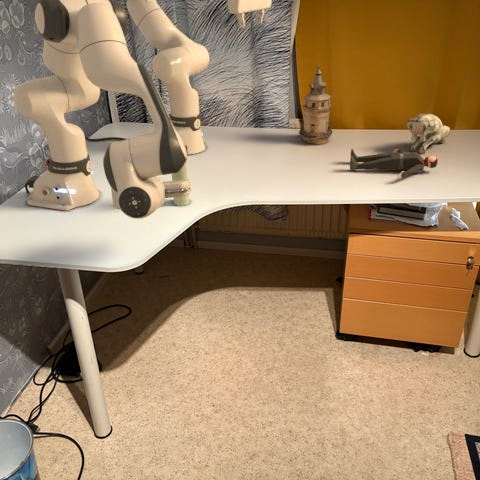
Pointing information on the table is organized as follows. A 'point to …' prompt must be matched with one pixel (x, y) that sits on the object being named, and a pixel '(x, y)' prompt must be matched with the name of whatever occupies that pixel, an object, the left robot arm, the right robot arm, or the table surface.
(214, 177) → the table surface
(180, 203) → the pale green tall cylinder
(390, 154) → the toy
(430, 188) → the table surface
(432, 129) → the figurine
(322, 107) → the miniature building
